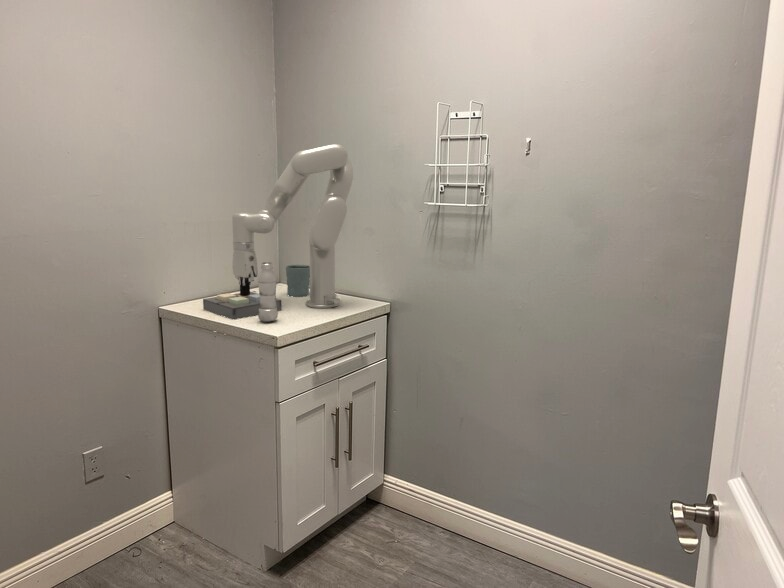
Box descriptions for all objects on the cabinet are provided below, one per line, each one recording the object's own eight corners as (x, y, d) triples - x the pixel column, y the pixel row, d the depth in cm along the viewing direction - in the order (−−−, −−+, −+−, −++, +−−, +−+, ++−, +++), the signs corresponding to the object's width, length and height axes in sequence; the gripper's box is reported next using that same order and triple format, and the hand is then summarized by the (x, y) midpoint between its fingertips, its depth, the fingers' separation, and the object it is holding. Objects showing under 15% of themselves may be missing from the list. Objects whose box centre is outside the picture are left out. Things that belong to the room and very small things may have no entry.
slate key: (267, 302, 212) (267, 295, 212) (256, 304, 209) (256, 297, 208) (259, 300, 216) (259, 293, 215) (248, 302, 212) (248, 295, 212)
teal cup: (281, 295, 240) (280, 266, 238) (299, 291, 248) (298, 263, 246) (298, 298, 234) (297, 269, 232) (316, 294, 242) (315, 266, 240)
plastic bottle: (254, 321, 196) (252, 263, 192) (268, 318, 202) (267, 261, 198) (267, 324, 193) (266, 265, 189) (282, 320, 198) (281, 262, 194)
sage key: (249, 305, 207) (248, 298, 206) (236, 307, 203) (236, 300, 203) (241, 303, 210) (240, 296, 209) (228, 305, 206) (228, 298, 206)
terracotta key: (255, 302, 218) (255, 295, 217) (243, 304, 214) (243, 297, 214) (247, 299, 221) (247, 293, 221) (236, 301, 218) (236, 295, 217)
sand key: (236, 302, 212) (236, 295, 211) (224, 304, 208) (224, 297, 208) (229, 299, 215) (228, 293, 215) (216, 301, 212) (216, 295, 211)
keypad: (281, 310, 213) (281, 299, 212) (233, 319, 199) (233, 308, 198) (250, 301, 226) (250, 291, 226) (203, 309, 212) (203, 298, 211)
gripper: (264, 247, 211) (265, 297, 215) (241, 243, 221) (242, 291, 225) (246, 249, 206) (247, 300, 210) (223, 245, 216) (225, 293, 220)
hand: (245, 295), depth 217 cm, fingers closed
